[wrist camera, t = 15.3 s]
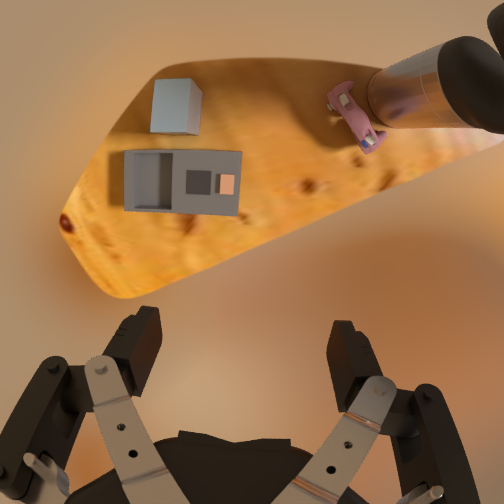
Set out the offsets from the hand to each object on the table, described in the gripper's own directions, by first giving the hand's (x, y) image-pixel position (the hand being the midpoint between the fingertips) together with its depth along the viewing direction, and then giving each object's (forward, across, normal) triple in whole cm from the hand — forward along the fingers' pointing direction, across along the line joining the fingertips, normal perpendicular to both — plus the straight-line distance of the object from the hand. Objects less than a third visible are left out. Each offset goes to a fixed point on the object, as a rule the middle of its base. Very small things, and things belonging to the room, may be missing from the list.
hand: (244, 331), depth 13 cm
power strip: (+28, +10, -2) cm, 30 cm away
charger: (+29, +10, -11) cm, 32 cm away
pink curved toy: (+30, -12, -12) cm, 35 cm away
